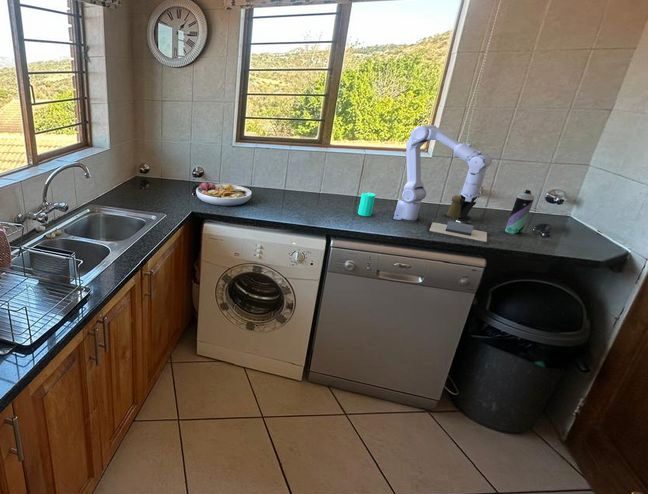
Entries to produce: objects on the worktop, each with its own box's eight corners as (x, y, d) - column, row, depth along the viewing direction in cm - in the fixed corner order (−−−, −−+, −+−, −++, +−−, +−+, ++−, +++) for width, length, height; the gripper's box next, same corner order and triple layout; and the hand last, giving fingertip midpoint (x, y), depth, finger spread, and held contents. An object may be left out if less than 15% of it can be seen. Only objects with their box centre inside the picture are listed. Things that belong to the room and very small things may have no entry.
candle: (370, 213, 202) (375, 190, 197) (371, 216, 197) (376, 193, 192) (357, 211, 204) (362, 188, 200) (357, 215, 199) (362, 191, 195)
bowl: (257, 196, 227) (259, 183, 224) (240, 211, 203) (241, 196, 200) (208, 189, 242) (209, 176, 239) (186, 201, 218) (187, 187, 215)
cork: (463, 219, 194) (469, 198, 190) (449, 219, 195) (455, 197, 191) (456, 215, 199) (463, 194, 195) (443, 215, 200) (449, 193, 196)
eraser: (471, 233, 175) (473, 225, 174) (470, 236, 172) (473, 228, 170) (446, 228, 180) (448, 220, 179) (445, 231, 177) (447, 223, 176)
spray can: (500, 231, 179) (516, 188, 172) (512, 231, 180) (528, 188, 172) (512, 236, 174) (528, 192, 167) (523, 236, 175) (540, 191, 167)
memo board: (428, 232, 178) (429, 230, 177) (432, 224, 188) (432, 222, 188) (485, 244, 166) (486, 241, 166) (486, 234, 176) (486, 232, 176)
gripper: (485, 188, 160) (474, 220, 165) (485, 181, 171) (475, 211, 176) (463, 185, 164) (453, 216, 169) (464, 178, 175) (455, 208, 180)
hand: (463, 213), depth 173 cm, fingers open, 7 cm apart
